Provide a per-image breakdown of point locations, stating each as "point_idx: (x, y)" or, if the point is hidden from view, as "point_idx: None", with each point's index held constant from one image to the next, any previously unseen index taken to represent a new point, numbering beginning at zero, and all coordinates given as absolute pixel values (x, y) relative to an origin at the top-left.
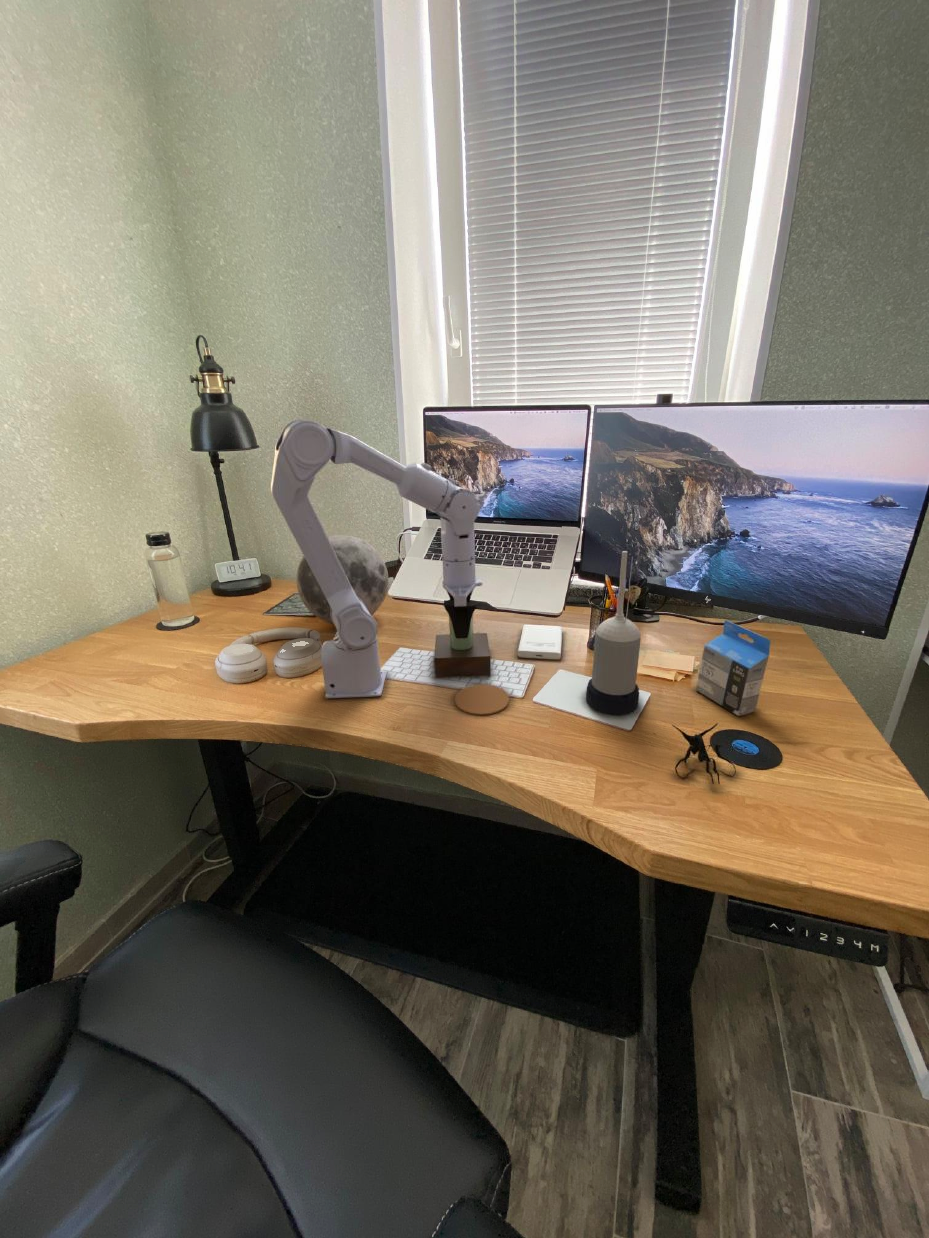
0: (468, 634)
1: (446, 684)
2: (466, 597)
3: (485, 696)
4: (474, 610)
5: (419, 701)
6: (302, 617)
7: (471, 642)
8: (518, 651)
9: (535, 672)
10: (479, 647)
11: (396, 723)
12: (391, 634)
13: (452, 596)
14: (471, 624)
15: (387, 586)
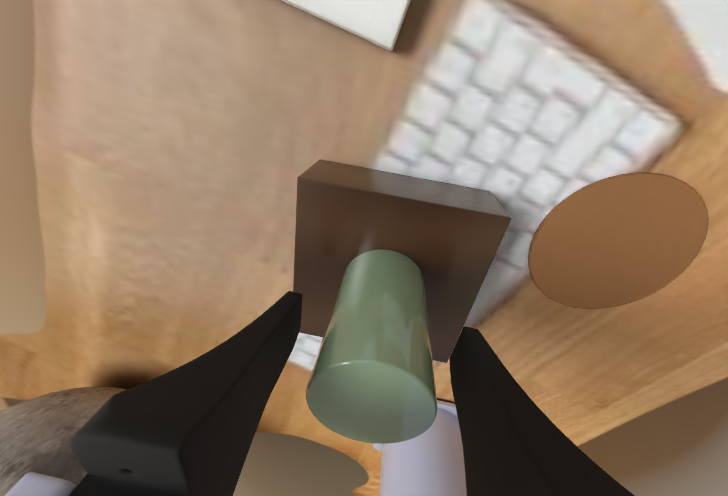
0: (483, 337)
1: (481, 304)
2: (245, 390)
3: (608, 238)
4: (626, 489)
5: (528, 360)
6: None
7: (415, 272)
8: (392, 45)
9: (543, 7)
10: (424, 237)
11: (585, 401)
12: (201, 355)
13: (243, 448)
14: (414, 321)
15: (30, 440)
